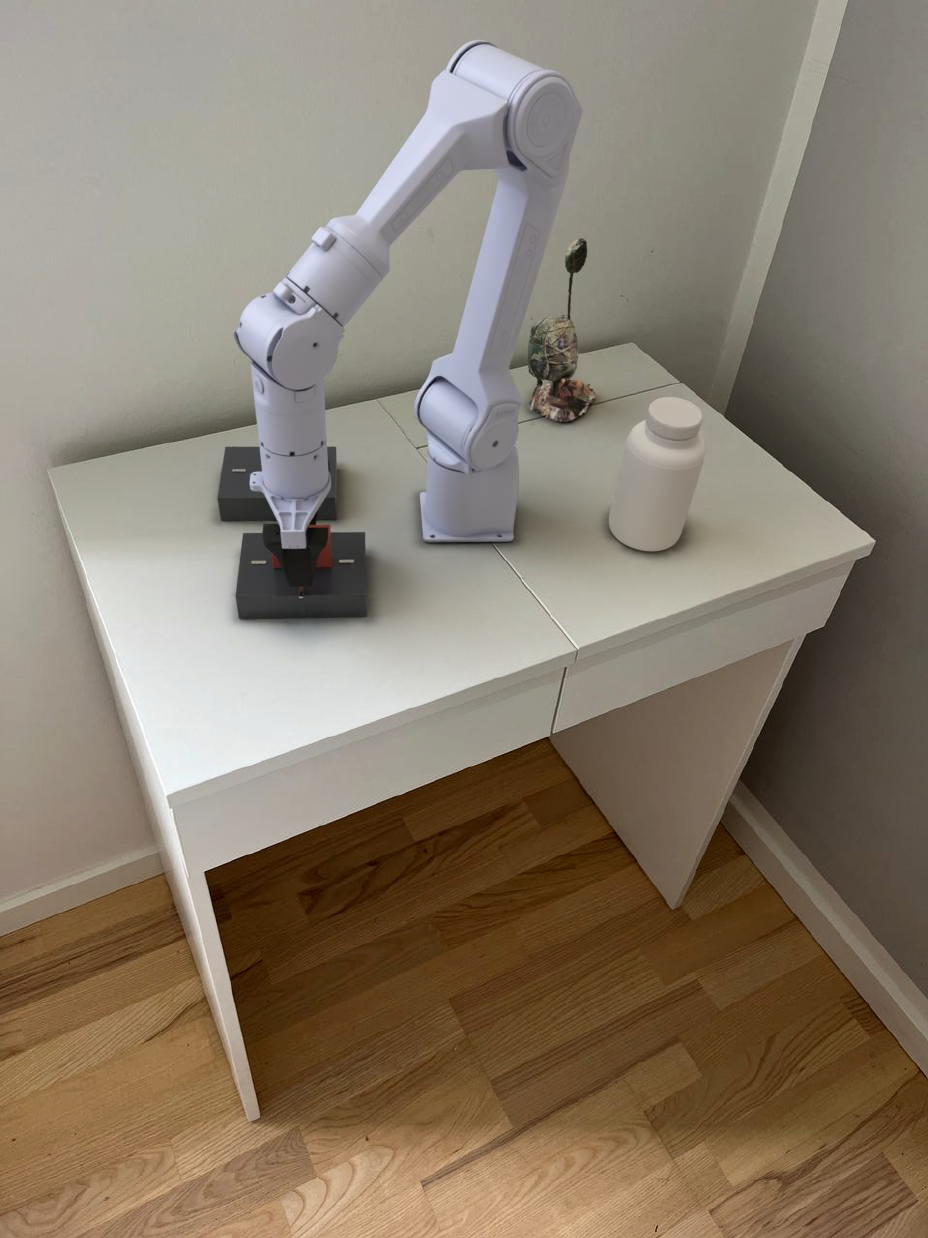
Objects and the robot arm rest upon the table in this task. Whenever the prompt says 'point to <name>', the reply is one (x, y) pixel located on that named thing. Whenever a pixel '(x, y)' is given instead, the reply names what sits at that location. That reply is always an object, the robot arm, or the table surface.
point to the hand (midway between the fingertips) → (302, 556)
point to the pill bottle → (658, 476)
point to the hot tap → (324, 556)
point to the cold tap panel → (253, 504)
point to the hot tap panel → (327, 597)
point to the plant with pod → (559, 356)
